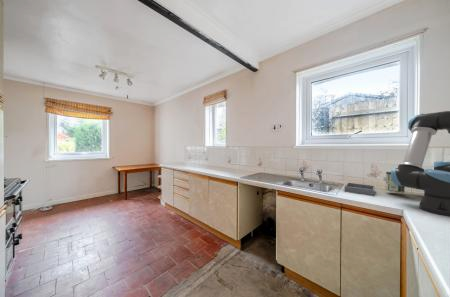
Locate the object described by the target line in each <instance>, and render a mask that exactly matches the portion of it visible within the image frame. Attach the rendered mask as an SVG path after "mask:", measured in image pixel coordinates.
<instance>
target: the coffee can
mask: <svg viewBox="0 0 450 297" xmlns="http://www.w3.org/2000/svg"><path fill="white" fill-rule="evenodd" d="M385 177H386V181H385V190H386V191H388V192H393V193H399V194H402V193H405V191H406V190H405V189H406V187H402V186H398V185H395V184H393V181H392V179H391V171H386V172H385Z"/></svg>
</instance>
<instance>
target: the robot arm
mask: <svg viewBox="0 0 450 297" xmlns="http://www.w3.org/2000/svg"><path fill="white" fill-rule="evenodd" d="M407 124H408V126H407V128H408V130H409V131H410V133H411V134H412V135H411V138H410V141H409V143H408V147H407V150H406V151H405V155H404V157H403V158H404V159H403V160H402V161H403V162H402V163H399V164H397V165H398V166H397V167H393V168H392V169H391V171H390V172H391V179H392V181H393V184H395V185H398V186H402V187H405V188H408V189H414V190H419V191H420V190H421V191H423V192H424V193H423V197H422V198H421V200H420V202H419V206H418V207H419V209H421V210H423V211H425V212H428V213H433V214H436V215H442V216H448V217H450V161H446V162H443V161H444V160H443V161H442V160H436V162H435V161H433V166H434V170H433V168H430V169H429V168H425V169H424V168H423V163H424V162H425V158H426V155H427V152H428V149H429V146H430V142H431V140H432V137H433V136H435V135H436V134H437V132H438V131H441V130H446V131H447V133H448V134H449V135H450V110H446V111H437V112H430V113H420V114H415V115H413V116H411V117H410V119H409V120H408V123H407ZM382 181H384V182H386V176H385V177H383V179H382Z"/></svg>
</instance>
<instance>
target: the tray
mask: <svg viewBox="0 0 450 297" xmlns="http://www.w3.org/2000/svg"><path fill="white" fill-rule="evenodd" d="M375 190H376V186H375V185H370V184H363V183H362V184H361V183H355V182H347V183H346V184H345V185H344V192H349V193H353V194H354V193H355V194H362V195H368V196H375V192H376V191H375Z"/></svg>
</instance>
